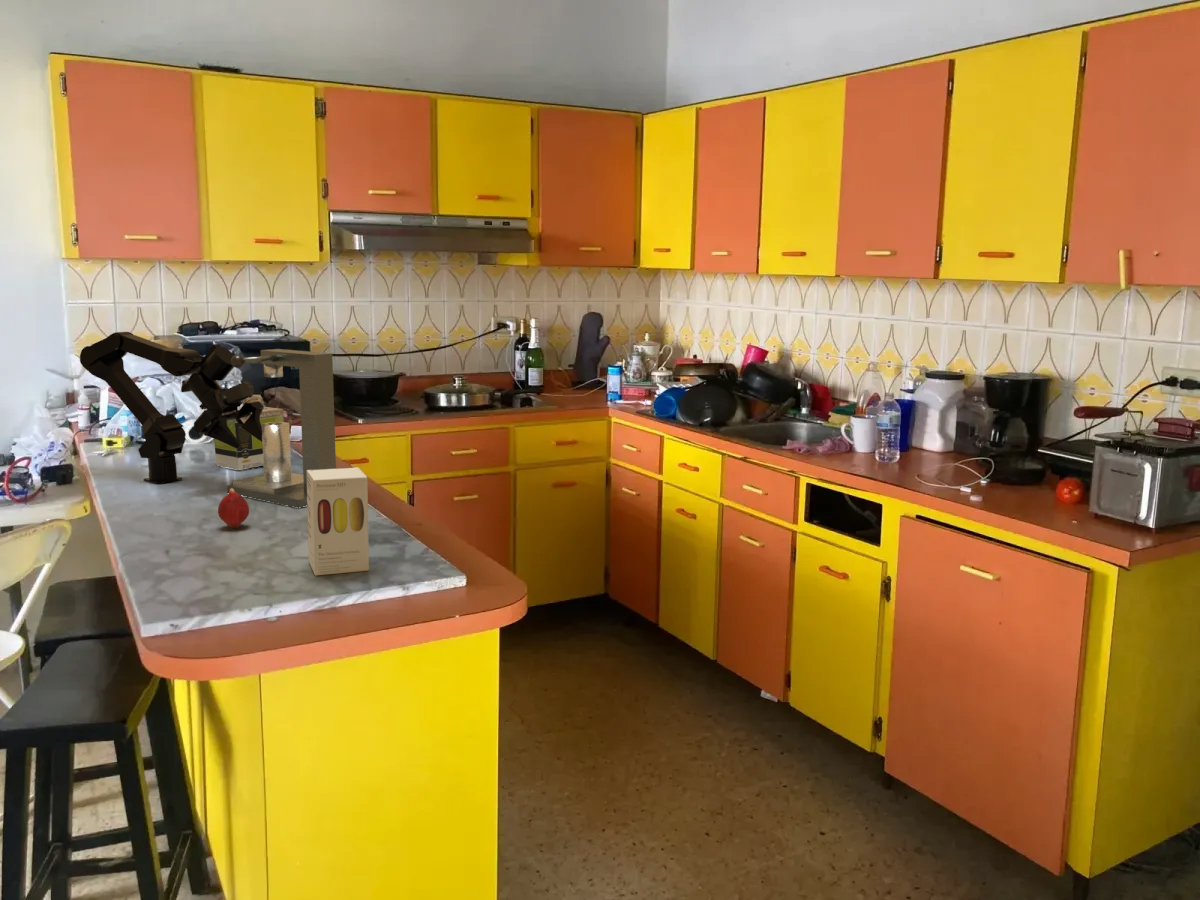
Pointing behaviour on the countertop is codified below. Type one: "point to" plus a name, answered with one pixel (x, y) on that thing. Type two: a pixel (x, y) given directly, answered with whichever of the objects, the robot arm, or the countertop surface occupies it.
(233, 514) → the onion
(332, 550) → the supplement box
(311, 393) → the arbor press
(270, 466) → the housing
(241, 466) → the tea box
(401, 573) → the countertop surface
